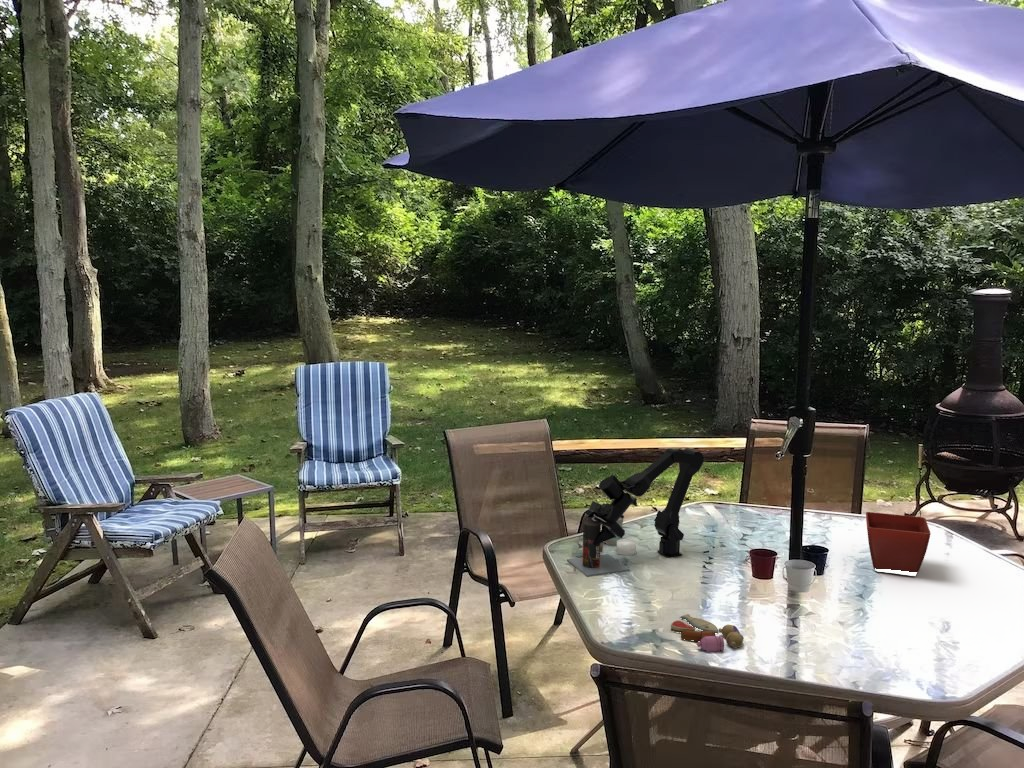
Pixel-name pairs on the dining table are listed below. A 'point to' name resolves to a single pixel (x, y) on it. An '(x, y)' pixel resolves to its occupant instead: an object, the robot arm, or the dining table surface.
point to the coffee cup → (614, 540)
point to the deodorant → (591, 544)
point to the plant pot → (897, 541)
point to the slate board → (606, 566)
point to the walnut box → (601, 547)
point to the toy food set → (707, 633)
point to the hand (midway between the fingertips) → (589, 541)
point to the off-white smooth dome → (626, 547)
